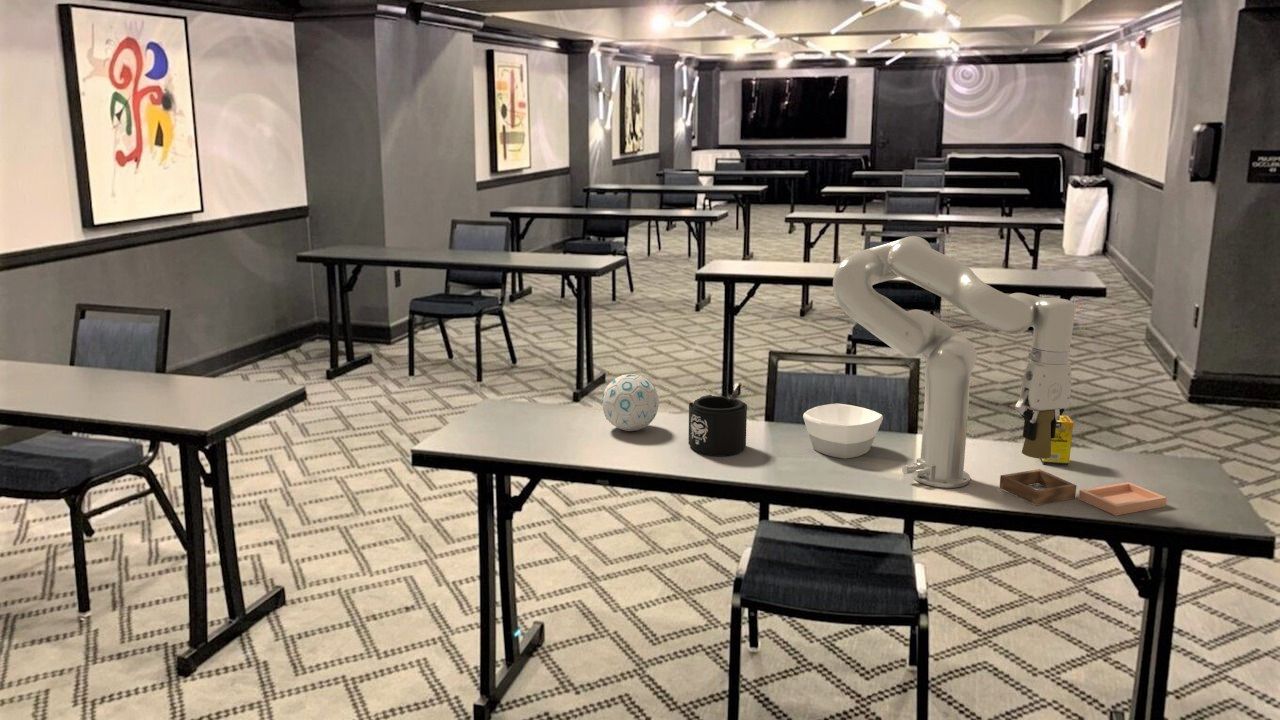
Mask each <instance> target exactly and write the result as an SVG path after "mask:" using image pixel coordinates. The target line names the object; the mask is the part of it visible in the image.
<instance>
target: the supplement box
mask: <svg viewBox="0 0 1280 720" xmlns="http://www.w3.org/2000/svg"><path fill="white" fill-rule="evenodd" d="M1073 429H1074V422H1073V420H1072V419H1071V418H1070V416H1069V415H1062V414H1061V415H1060V419H1059V420H1058V421H1057V423H1056V430H1055V437H1054V438H1051V457H1050V458H1046V459H1039V460H1040V461H1041V463H1042V465H1046V466H1047V465H1048V466H1064V467H1069V466H1070V457H1071V451H1072V450H1071V449H1072V438H1073Z"/></svg>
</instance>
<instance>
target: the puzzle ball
mask: <svg viewBox="0 0 1280 720" xmlns="http://www.w3.org/2000/svg"><path fill="white" fill-rule="evenodd" d="M659 404H660V400H659V395H658V393H657V389H656V387H655V386H654V385H653V383H652V382H650V380H648V379H647V378H645V377H644V376H642V375H639V374H638V375H637V374H635V373H634V374H632V373H629V374H622V375H620V376H617V377H615V378H614V379H612V380H611V382H609V383H608V385H607V386H606V387H605V389H604V391H603V394H602V400H601V405H602V411H603V414H604V416H605V419H606V420H607V421H608V422H609V423H610V424H611V425H612V426H614V427H616V428H618V429H619V430H623V431H626V432H635V431H639V430H642V429H644V428H646V427H648V426H649V425H650V424H651V423H652V422H653V420H655V418H656V416H657V415H658V414H657V413H658V410H659V406H660V405H659Z"/></svg>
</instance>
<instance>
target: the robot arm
mask: <svg viewBox="0 0 1280 720" xmlns="http://www.w3.org/2000/svg"><path fill="white" fill-rule="evenodd" d="M897 278H902V279H904V280H906V281H909V282H910V283H911V284H912V283H913V284H914V285H916V286H919V287H921V288H923V289H924V290H926V291H929V292H930V293H933V295H934V294H935V295H936V296H938V297H941V298H942V299H945V300H946V301H948V302H949V303H950V304H951V305H952V306H955V307H957V308H958V309H959V310H961V311H962V312H964V313H965V314H967V315H968V316H970V317H971V318H973V319H976V320H978V321H979V322H981V323H983V324H986V325H987V326H989V327H991V328H994V329H995V330H998V331H1000V332H1002V333H1005V334H1009V335H1019V334H1021V333H1024V332H1025V331H1027V330H1028V329H1029V328H1030V327H1032V328H1033V335H1032V343H1031V349H1030V352H1029V353H1028V358H1029V361H1028V362H1027V364H1026V367H1025V370H1024V374H1023V378H1022V382H1021V388H1020V395H1019V400H1018V401H1017V402H1016V404H1015V405H1014V410H1015V411H1016V412H1018V413H1019V414H1020V416H1021V418H1022V420H1024V424H1023V429H1022V430H1023V431H1022V437H1023V438H1027V439H1029V440H1031V441H1034V440H1035V439H1036V431H1037V423H1035V421H1036V418H1037V415H1038V412H1039V411H1046V410H1054V412H1055V416H1054V419H1053V420H1052V421H1051V438H1054V437H1055V430H1056V423H1057V421H1058V420H1059V419H1060V415H1061V416H1062V414H1063V413H1064V412H1065V410H1066V409H1067V408H1069V407H1070V405H1071V401H1070V400H1071V392H1072V391H1071V390H1072V366H1071V363H1070V362H1069V357H1070V350H1071V345H1072V343H1071V342H1072V336H1073V331H1074V329H1073V328H1074V322H1075V316H1076V305H1075V303H1074V302H1073V301H1071V300H1069V299H1065V298H1058V297H1043V296H1042V297H1040V296H1036V295H1032V294H1028V293H1025V292H1014V293H1011V294H1006V293H1004V292H1003V291H1000V290H998V289H996V288H994V287H992V286H991V285H989V284H987V283H985V282H984V281H983V280H981V279H980V278H979V277H978V275H976V274H975V273H974V271H973V270H972V269H971V268H970V267H969V266H967V264H965V263H963V262H961V261H958V260H956V259H954V258H952V257H950V256H948V255H946V254H944V253H942V252H939V251H938V250H935V248H932V247H931V244H930V243H929V242H928V241H927V240H926V239H925V238H923V237H920V236H918V235H909V236H906V237H903V238H900V239H897V240H894V241H890V242H888V243H884V244H881V245H880V244H879V245H877V246H874V247H869V248H866V249H863V250H860V251H857V252H855V253H853V254H851V255H848V256H847V257H845V258H844V259H842V260H841V261H840V263H838V265H837V267H836V269H835V271H834V274H833V280H832V287H833V288H832V289H833V295H834V298H835V300H836V303H837V305H838V306H839V307H840V309H841V310H842V311H843V313H845V314H846V315H847V316H848V317H849V318H850V319H851V320H853V321H855V323H857V324H859V325H860V326H862V327H863V328H864V329H866V330H867V331H868V332H869V333H871V334H872V335H873V336H875V337H876V338H878V339H879V340H880V341H881V342H883V343H884V344H886V345H887V346H889V347H890V348H891V349H892V350H893V351H895V352H897V353H898V354H899V355H901V356H903V357H908V358H913V357H917V356H919V357H922V358H923V359H925V361H926V363H925V368H924V402H923V403H924V405H923V420H922V422H923V423H922V432H921V433H922V434H921V449H920V458H916V461H915V463H914V464H906V465H903V466H902V467H901V471H902V474H904V475H909V474H912V478H913V479H914V480H915V481H917V482H919V483H921V484H923V485H926V486H930V487H935V488H943V489H956V488H961V487H964V486H966V485H968V484H970V482H971V476H970V474H969V473H968V472H966V471H965V470H964V469H965V467H964V466H965V458H966V457H965V455H966V445H967V444H966V442H967V431H968V421H969V420H968V419H969V406H970V405H969V403H970V382H971V374H972V372H973V370H974V368H975V366H976V364H977V359H978V354H977V351H976V348H975V347H974V345H973V343H972V342H970V341H969V339H968V338H966V337H965V336H963V335H962V334H960V333H959V332H958V331H956V330H955V329H954V328H952V327H951V326H949V325H947V324H946V323H945V322H943V321H942V320H940V319H939V318H938V317H936V316H934V314H931V313H930V312H927V311H925V310H922V309H911V310H905V309H904V308H902V307H901V306H899V305H898V304H896V303H895V302H893V301H892V300H891V299H889V298H888V297H887V296H885V295H883V294H881V293H879V292H877V291H876V289H874V288H873V286H874V285H876V284H879V283H883V282H887V281H890V280H894V279H897ZM1031 410H1032V415H1031V414H1030V411H1031Z"/></svg>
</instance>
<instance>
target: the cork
mask: <svg viewBox="0 0 1280 720" xmlns="http://www.w3.org/2000/svg"><path fill="white" fill-rule="evenodd" d="M1030 414H1031V415H1032V410H1031V411H1030ZM1054 416H1055V412H1054V410H1046V411H1039V412H1038V415H1037V418H1036V421H1035V423H1037V431H1036V439H1035V440H1034V441H1031V440H1029V439H1027V438H1025V439H1024V442H1023V445H1022V450H1021V453H1022V454H1023V455H1024V456H1025V457H1026V456H1027V457H1029V458H1033V459H1039V460H1040V459H1046V458H1050V457H1051V421H1052V420H1053V419H1054Z"/></svg>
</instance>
